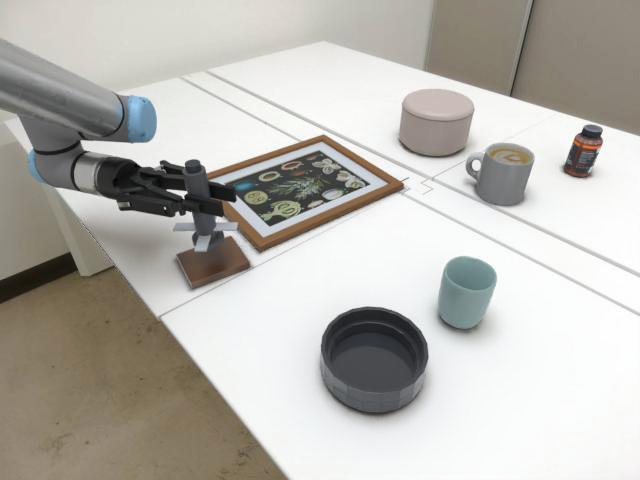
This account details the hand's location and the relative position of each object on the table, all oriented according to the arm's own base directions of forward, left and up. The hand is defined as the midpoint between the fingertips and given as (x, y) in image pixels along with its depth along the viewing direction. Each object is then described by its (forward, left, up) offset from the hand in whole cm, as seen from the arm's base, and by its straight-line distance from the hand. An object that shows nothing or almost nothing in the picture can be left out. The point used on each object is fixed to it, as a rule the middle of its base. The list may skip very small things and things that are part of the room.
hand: (228, 201), depth 74 cm
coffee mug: (+60, -5, -15) cm, 62 cm away
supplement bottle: (+83, -9, -15) cm, 85 cm away
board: (-3, +4, -15) cm, 16 cm away
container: (+64, +20, -15) cm, 69 cm away
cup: (+27, -29, -15) cm, 42 cm away
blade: (-3, +4, -9) cm, 11 cm away
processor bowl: (+9, -30, -15) cm, 35 cm away
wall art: (+23, +20, -15) cm, 34 cm away
